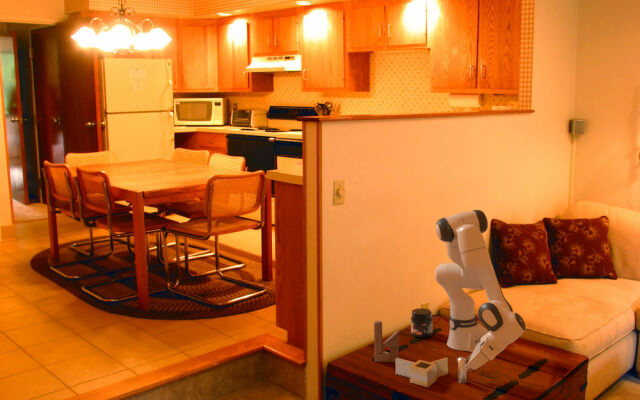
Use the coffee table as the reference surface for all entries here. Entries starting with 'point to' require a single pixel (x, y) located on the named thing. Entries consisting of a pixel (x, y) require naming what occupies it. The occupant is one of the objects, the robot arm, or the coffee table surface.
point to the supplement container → (421, 323)
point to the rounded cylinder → (461, 370)
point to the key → (467, 370)
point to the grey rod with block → (385, 345)
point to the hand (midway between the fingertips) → (466, 364)
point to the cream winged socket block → (422, 370)
